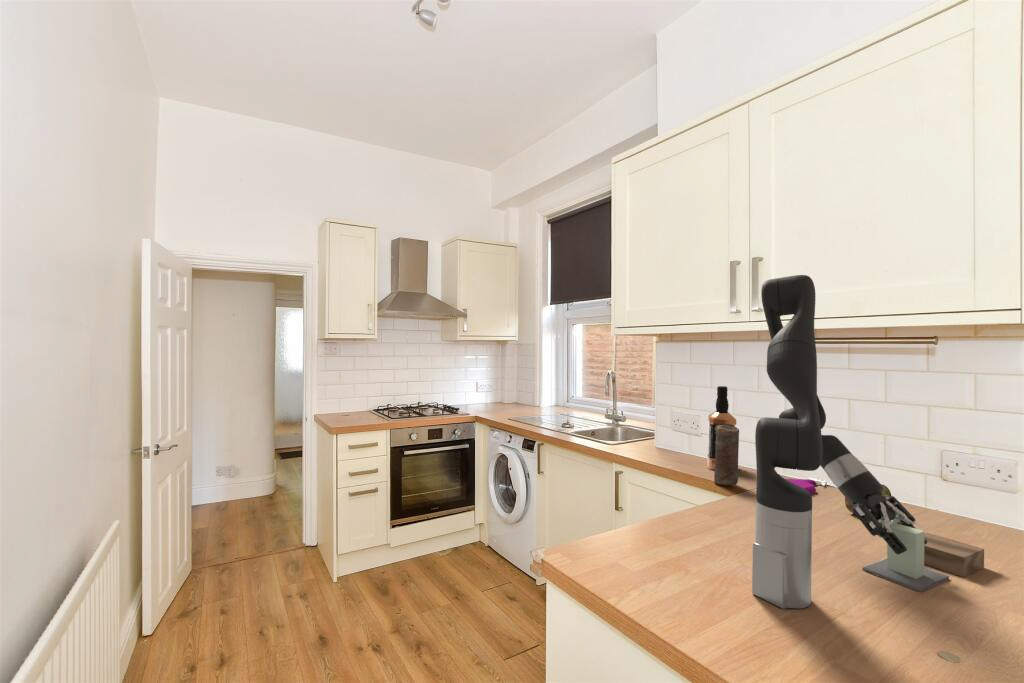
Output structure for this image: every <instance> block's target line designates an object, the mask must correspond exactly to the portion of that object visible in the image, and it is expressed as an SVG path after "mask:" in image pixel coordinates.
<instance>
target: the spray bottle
mask: <svg viewBox="0 0 1024 683" xmlns="http://www.w3.org/2000/svg"><path fill="white" fill-rule="evenodd" d="M785 479H786V480H788V481H789V482H791V483H794V484H796V485H798V486H800V487H802V488H804V489H806V490H807V491H809V492H810V493H811V495H814V494H815V493H816V491H817V488H816V486H823V487H826V486H825V485H827V482H825V481H826V480H824V481H821V480H822V479H819V480H817V478H814V479H813V477H808V479H803V478H802V479H801V478H800V479H799V478H798V479H797V478H796V479H795V478H785Z"/></svg>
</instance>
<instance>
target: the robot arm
mask: <svg viewBox="0 0 1024 683" xmlns="http://www.w3.org/2000/svg"><path fill="white" fill-rule="evenodd" d="M760 293H761V304H762V309H763V312H764V317H765V321H766V325H767V329H768V333H769V336H770V339H771V341H770V342H769V344H768V346H767V351H766V373H767V375H768V378H769V379H770V381H771V383H772V384H773V385H774V386H775V388H776V389H777V390H778V391H779V392H780V394H781V395H782V396H784V398H786V399H787V401H788V402H789V403H790V405H791V406H792V407H791V408H789V409H785V410H783V411H781V412H780V414H779V415H778V417H769V416H768V417H767V416H766V417H761V418H760V419H758V421H757V423H756V427H755V433H754V434H755V435H754V436H755V438H754V440H755V441H754V442H755V463H756V486H755V487H756V490H755V542H754V543H753V544H752V578H751V579H752V580H751V589H752V590H751V593H752V594H753V595H755V596H757V597H758V598H760V599H763V600H765V601H767V602H769V603H771V604H773V605H775V606H777V607H778V608H781V609H783V610H785V609H805V608H808V607H809V606H811V604H812V554H813V553H812V551H813V550H812V549H813V548H812V544H813V538H812V537H813V535H812V534H813V532H812V531H813V494H811V493H810V492H809V491H807V490H806V489H804V488H802V487H800V486H798V485H796V484H794V483H791V482H789V481H788V480H786V479H787V478H784V477H783V476H782V475H780V474H779V473H778V472H777V471H776V469H775V468H779V469H788V470H797V471H806V472H808V471H809V472H813V471H816V470H818V469H819V468H820V467H821V468H822V470H823V471H824V472H825V473H826V475H827V476H828V478H829V479H830V481H831V483H833V485H835V487H836V489H837V490H839V491H840V493H841V494H842V495H843V496H844V499H845V498H846V499H847V500H848V501H849V502H850V504H851V505H854V506H856V505H859V506H857V507H856V508H854V509H853V512H854V513H855V514H854V513H853V514H854V515H855V516H856V517H857V518H858V520H859V521H860V522H861V523H862V524H863V526H864V527H865V528H866V530H867V532H869V534H870V535H872V537H876V536H878V537H879V538H882V539H883V540H884V541H885V543H886V544H888V545H889V546H890V547H891V548H892V550H893V551H894V552H895V553H896V554H901V553H903V552H905V551H907V548H906V547H905V546H904V544H903V543H902V542H901V541H900V540H899V539H898V537H897V536H896V535H895V534H894V533H893V532H892V531H891V529H890V526H889V525H891V524H894V523H897V524H901V525H904V526H908V527H911V528H915V529H917V528H916V527H915V526H914V525H915V522H916V518H915V517H914V516H913V514H911V513H910V512H909V510H908V509H906V508H905V507H904V505H903V504H902V503H901V502H900V501H899V500H898V499H897V498H896V497H895V496H894V495H891V497H890V498H888V499H886V498H885V497H884V496H882V494H881V493H882V492H883V491H884V487H883V486H882V485H883V484H882V485H881V483H880V481H879V480H878V479H877V478H876V476H874V475H873V474H872V472H871V471H870V470H869V469H868V468H867V467H866V466H865V465H864V464H863V463H862V461H860V460H859V459H858V457H856V456H855V455H854V454H853V453H852V452H851V451H850V450H849V448H848V447H847V446H846V445H845V444H844V443H843V442H842V441H841V440H840V439H839V437H837V436H835V435H832V434H822V430H823V429H824V427H825V424H826V422H827V415H826V414H827V413H826V412H825V409H824V406H823V405H822V402H821V399H820V397H819V396H818V358H817V357H818V355H817V347H816V346H817V345H816V336H815V318H816V317H815V315H816V314H815V313H816V287H815V284H814V281H813V279H812V278H811V277H810V276H809V275H807V274H798V275H797V274H795V275H789V276H783V277H777V278H771V279H767V280H764V281H763V283H762V285H761V292H760ZM791 315H793V316H792V318H790V320H789V321H788V322H787V323H785V325H783V322H782V319H781V317H784V316H791ZM891 532H892V533H891ZM925 544H927V540H926V539H925V538H924V545H925Z"/></svg>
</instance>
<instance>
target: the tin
mask: <svg viewBox="0 0 1024 683" xmlns="http://www.w3.org/2000/svg"><path fill="white" fill-rule="evenodd" d="M880 484H881V483H880ZM881 485H882V486H883V487H884V491H883V492H882V493H881V494H882V496H884V497H885V498H886V499H888V498H890V497H891V496H892V492H891V490H890V489H889V488H888V486H886V485H885V484H881ZM844 503H845V507H846V509H847V510H848V512H850V513H851V514H854V515H856V514H855V513H854V512H853V509H854V508H856V507H857V506H859V505H856V506H854V505H851V504H850V502H849V501H848V500H847V499H846V498H845V497H844Z"/></svg>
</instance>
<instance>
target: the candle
mask: <svg viewBox="0 0 1024 683" xmlns="http://www.w3.org/2000/svg"><path fill="white" fill-rule="evenodd" d="M739 441H740V429H739V428H738V427H737V426H735V427H734V426H729V425H718V426H717V428H716V453H715V470H714V476H713V477H714V478H713V480H714V481H713V482H714V483H715V484H718V485H722V486H728V487H733V486H736V485H737V484H738V482H739V479H738V478H739V446H740V445H739V444H740V442H739Z"/></svg>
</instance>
